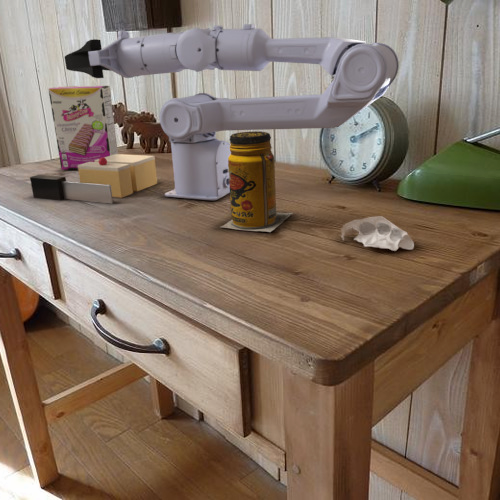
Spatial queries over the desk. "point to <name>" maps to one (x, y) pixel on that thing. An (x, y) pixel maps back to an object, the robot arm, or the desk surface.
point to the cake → (137, 169)
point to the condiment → (252, 183)
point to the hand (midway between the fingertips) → (82, 62)
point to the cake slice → (107, 176)
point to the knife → (69, 189)
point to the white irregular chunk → (378, 233)
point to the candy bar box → (83, 124)
